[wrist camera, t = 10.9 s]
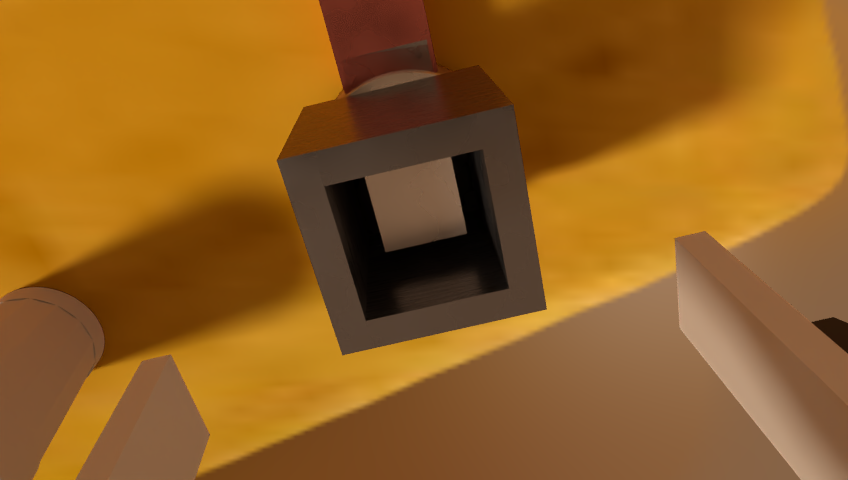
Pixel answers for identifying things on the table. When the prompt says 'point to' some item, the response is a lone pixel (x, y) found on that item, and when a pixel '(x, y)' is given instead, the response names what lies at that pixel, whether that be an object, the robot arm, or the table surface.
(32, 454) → the cup
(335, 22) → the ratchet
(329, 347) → the table surface
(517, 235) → the socket
